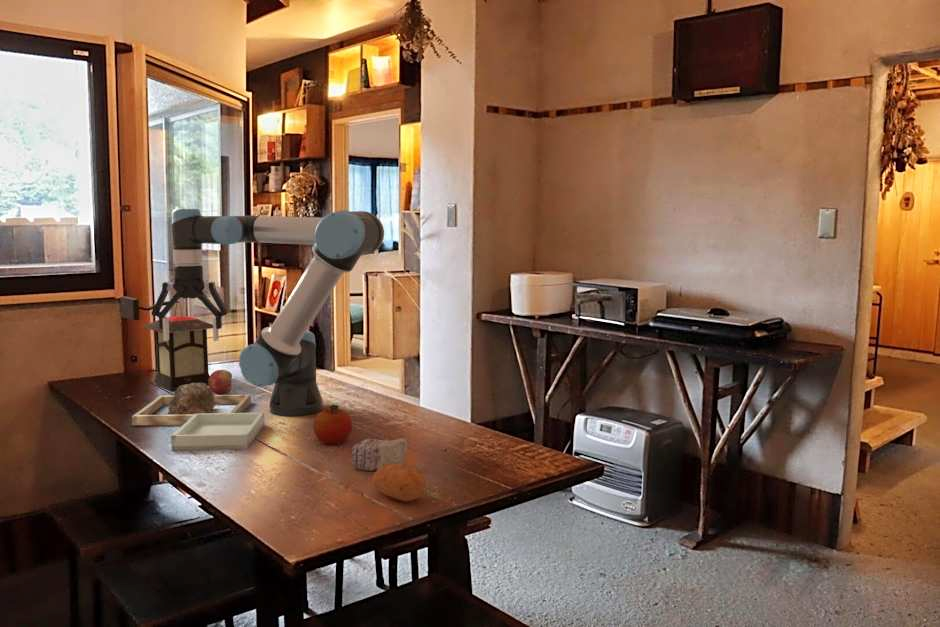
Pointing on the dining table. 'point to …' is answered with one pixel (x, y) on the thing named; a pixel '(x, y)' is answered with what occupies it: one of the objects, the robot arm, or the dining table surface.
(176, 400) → the rock
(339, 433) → the fruit
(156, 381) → the lantern
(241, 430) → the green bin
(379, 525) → the dining table surface
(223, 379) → the fruit
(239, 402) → the pine frame
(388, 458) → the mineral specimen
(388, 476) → the potato
